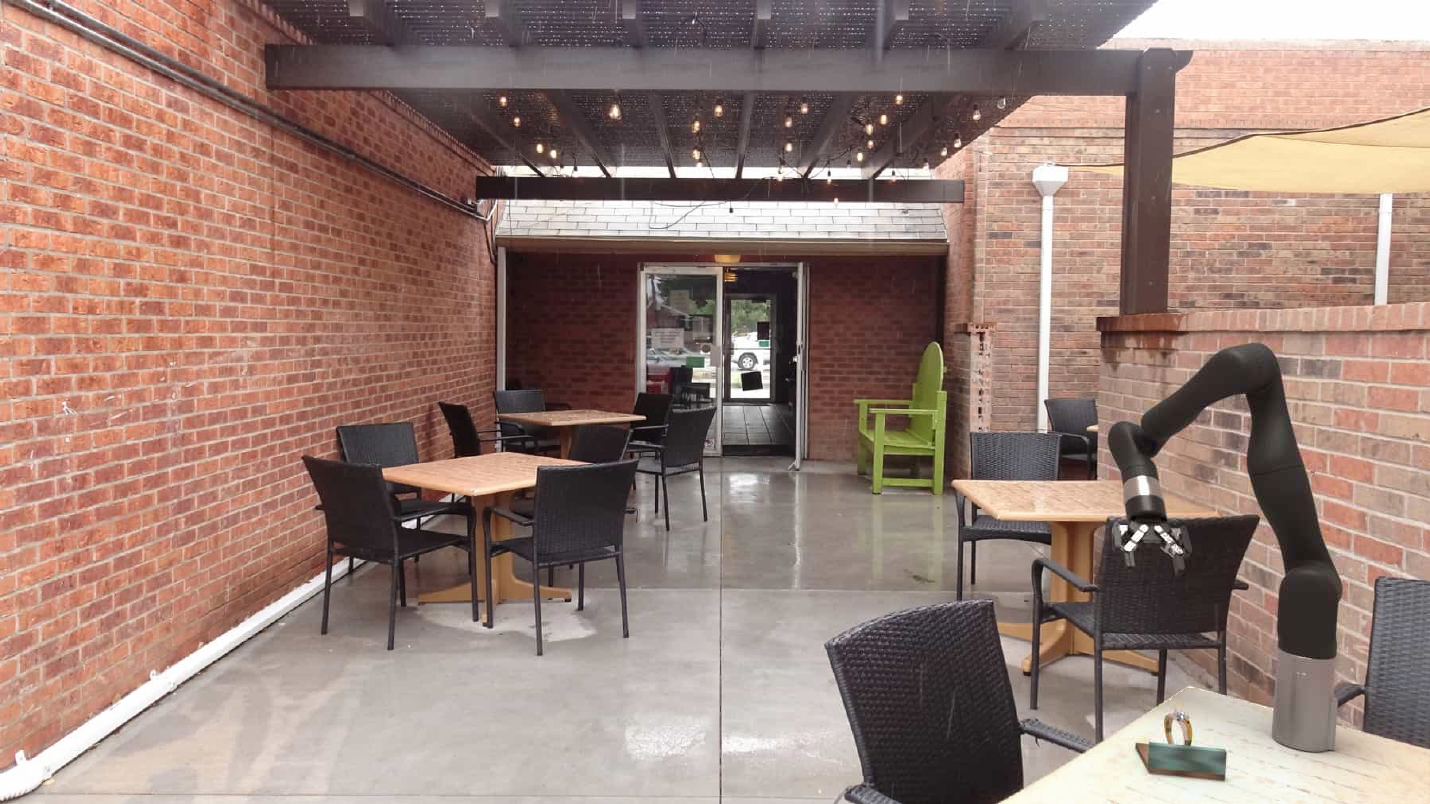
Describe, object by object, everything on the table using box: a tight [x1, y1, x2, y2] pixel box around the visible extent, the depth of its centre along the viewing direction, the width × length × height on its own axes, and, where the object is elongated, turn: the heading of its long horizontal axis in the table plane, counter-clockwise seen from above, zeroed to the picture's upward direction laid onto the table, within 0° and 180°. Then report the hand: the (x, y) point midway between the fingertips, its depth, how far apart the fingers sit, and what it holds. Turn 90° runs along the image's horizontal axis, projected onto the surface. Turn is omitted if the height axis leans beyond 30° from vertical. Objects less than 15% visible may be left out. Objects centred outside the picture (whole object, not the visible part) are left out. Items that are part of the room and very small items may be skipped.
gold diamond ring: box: [1163, 708, 1193, 746], centre depth 169 cm, size 7×3×8 cm, turn 179°
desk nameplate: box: [1135, 741, 1228, 782], centre depth 168 cm, size 12×10×5 cm
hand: (1155, 572), depth 187 cm, fingers open, 8 cm apart
